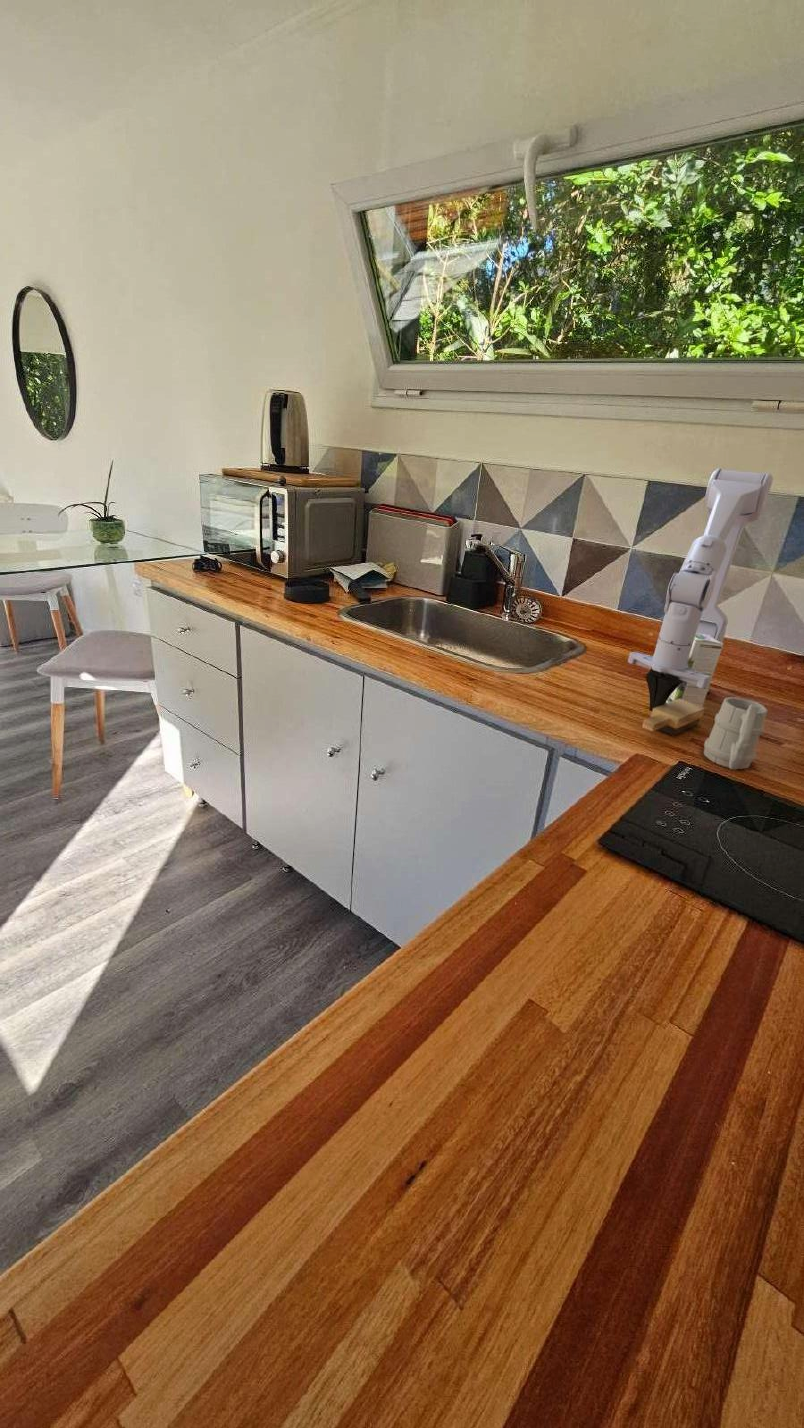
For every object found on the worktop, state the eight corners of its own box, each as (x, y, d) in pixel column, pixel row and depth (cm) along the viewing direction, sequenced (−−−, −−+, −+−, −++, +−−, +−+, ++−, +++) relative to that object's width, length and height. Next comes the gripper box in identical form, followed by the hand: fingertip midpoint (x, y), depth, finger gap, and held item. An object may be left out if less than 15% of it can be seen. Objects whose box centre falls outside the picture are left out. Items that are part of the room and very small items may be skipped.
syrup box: (661, 699, 122) (681, 631, 116) (689, 701, 122) (710, 633, 116) (672, 710, 117) (694, 639, 111) (702, 713, 117) (725, 642, 111)
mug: (748, 754, 101) (773, 689, 96) (758, 786, 91) (786, 715, 86) (700, 743, 104) (721, 679, 99) (704, 773, 93) (728, 703, 89)
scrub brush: (674, 715, 115) (679, 698, 113) (699, 725, 111) (705, 707, 110) (631, 732, 105) (636, 714, 104) (657, 744, 102) (663, 725, 100)
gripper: (626, 632, 108) (609, 700, 113) (705, 656, 98) (681, 730, 103) (647, 627, 112) (629, 694, 118) (724, 650, 102) (700, 722, 108)
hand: (655, 710), depth 111 cm, fingers closed
